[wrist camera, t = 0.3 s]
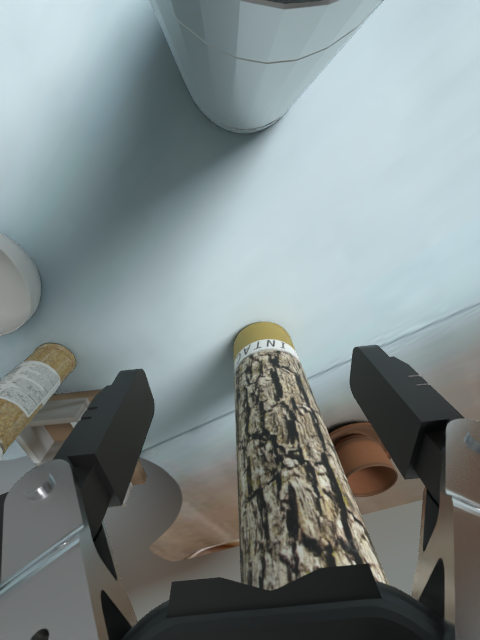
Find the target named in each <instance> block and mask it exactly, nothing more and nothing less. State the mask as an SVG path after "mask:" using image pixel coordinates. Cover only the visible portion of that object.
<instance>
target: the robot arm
mask: <svg viewBox="0 0 480 640" xmlns="http://www.w3.org/2000/svg"><path fill="white" fill-rule="evenodd" d="M149 1H150V3H151V6H152V8H153V10H154V13H155V15H156V17H157V19H158V22H159V24H160V26H161V29H162V31H163V33H164V36H165V38H166V40H167V42H168V45H169V47H170V49H171V52H172V54H173V56H174V58H175V61H176V63H177V66H178V68H179V70H180V73H181V75H182V77H183V79H184V82H185V84H186V86H187V88H188V90H189V92H190V94H191V96H192V98H193V100H194V102H195V103H196V105H197V106H198V108H199V109H200V110H201V112H202V113H203V114H204V115H205V116H206V117H207V118H208V119H209V120H211V121H212V122H213V123H214V124H216V125H218V126H219V127H221V128H223V129H225V130H228V131H231V132H235V133H253V132H257V131H261V130H263V129H265V128H267V127H269V126H271V125H273V124H274V123H275V122H276V121H277V120H279V119H280V118H281V117H282V116H283V115H284V114H285V113H286V112H287V111H288V109H289V108H290V107H291V106H292V105H293V104H294V103H295V102H296V100H297V99H298V98H299V97H300V96H301V95H302V94H303V92H304V91H305V90H306V89H307V88H308V87H309V86H310V84H311V83H312V82H313V81H314V80H315V79H316V78H317V76H318V75H319V74H320V73H321V72H322V71H323V69H324V68H325V67H326V66H327V65H328V64H329V63H330V61H331V60H332V59H333V58H334V57H335V56H336V54H337V53H338V52H339V51H340V50H341V49H342V48H343V46H344V45H345V44H346V43H347V42H348V41H349V39H350V38H351V37H352V36H353V35H354V34H355V33H356V31H357V30H358V29H359V28H360V27H361V26H362V25H363V23H364V22H365V21H366V20H367V19H368V18H369V16H370V15H371V14H372V13H373V12H374V11H375V10H376V8H377V7H378V6H379V5H380V4H381V3H382V1H383V0H149ZM350 388H351V391H352V394H353V396H354V398H355V399H356V401H357V403H358V404H359V406H360V407H361V409H362V411H363V412H364V414H365V416H366V417H367V419H368V420H369V422H370V424H371V425H372V427H373V429H374V430H375V432H376V434H377V435H378V437H379V438H380V440H381V442H382V443H383V445H384V447H385V448H386V450H387V451H388V453H389V455H390V456H391V458H392V460H393V461H394V463H395V464H396V466H397V468H398V469H399V471H400V473H401V474H402V476H403V477H404V479H415V478H420V479H421V480H422V482H423V483H424V485H425V489H424V492H423V504H422V517H421V530H420V543H419V555H418V563H417V568H416V572H415V577H414V582H413V589H412V596H410V595H408V594H406V593H404V592H403V591H401V590H399V589H397V588H395V587H392V586H390V585H387V584H385V583H382V582H379V581H375V579H374V576H373V573H372V571H371V568H370V565H369V563H366V564H356V565H345V566H335V567H324V568H319V569H317V570H315V571H313V572H311V573H309V574H306V575H304V576H302V577H300V578H298V579H296V580H294V581H292V582H290V583H288V584H286V585H284V586H282V587H280V588H278V589H275V590H265V589H262V588H258V587H254V586H250V585H247V584H243V583H239V582H235V581H232V580H228V579H224V578H220V577H219V578H209V579H198V580H187V581H177V582H172V586H171V592H170V599H169V600H168V601H166V602H164V603H162V604H161V605H159V606H158V607H156V608H154V609H153V610H151V611H150V612H149V613H148V614H146V615H145V616H144V617H143V618H142V619H140V620H139V621H137V618H136V615H135V612H134V610H133V607H132V605H131V602H130V600H129V598H128V596H127V594H126V592H125V589H124V586H123V583H122V580H121V576H120V573H119V569H118V566H117V563H116V560H115V556H114V552H113V549H112V546H111V542H110V539H109V535H108V532H107V529H106V526H105V523H104V521H103V518H104V516H105V513H106V510H107V508H108V507H116V506H122V505H123V502H124V500H125V497H126V494H127V491H128V488H129V485H130V482H131V479H132V476H133V473H134V471H135V468H136V465H137V462H138V459H139V456H140V453H141V450H142V447H143V444H144V442H145V439H146V436H147V433H148V430H149V427H150V424H151V421H152V418H153V415H154V399H153V396H152V393H151V390H150V387H149V384H148V381H147V378H146V374H145V372H144V370H143V369H134V370H125V371H120V372H119V374H118V375H117V377H116V378H115V380H114V382H113V383H112V385H110V386H106V387H105V388H104V389H103V390H102V391H100V392H99V393H98V394H97V395H96V396H95V397H94V398H93V400H92V401H91V403H90V404H89V406H88V407H87V410H85V412H84V413H83V415H82V416H81V420H79V421H78V422H77V424H76V425H75V427H74V428H73V430H72V431H71V433H70V434H69V436H68V437H67V439H66V440H65V442H64V443H63V445H62V446H61V448H60V449H59V451H58V452H57V454H56V455H55V457H54V458H53V460H50V461H47V462H44V463H42V464H40V465H38V466H36V467H34V468H33V469H31V470H30V471H29V472H27V473H26V474H25V475H24V476H22V477H21V478H20V479H19V480H18V481H17V482H16V483H15V485H14V486H13V487H12V488H11V490H10V491H9V492H7V493H5V494H2V495H0V640H480V421H476V420H472V419H465V418H464V417H463V416H462V415H461V414H460V413H459V412H458V411H457V410H456V409H455V408H454V407H453V406H451V405H450V404H449V403H448V402H447V401H446V400H445V399H444V398H443V397H442V396H441V395H440V394H439V393H438V392H437V391H436V390H435V389H434V388H433V387H431V386H430V385H428V383H427V382H426V381H425V380H424V379H423V378H422V377H419V374H418V373H417V372H416V371H415V370H414V369H413V368H412V367H410V366H409V365H408V364H407V363H405V362H403V361H401V360H399V359H397V358H395V357H389V356H388V355H387V354H386V353H385V352H384V351H383V350H382V349H381V348H380V347H379V346H378V345H369V346H360V347H355V348H354V349H353V354H352V363H351V372H350Z"/></svg>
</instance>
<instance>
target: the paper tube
mask: <svg viewBox="0 0 480 640" xmlns="http://www.w3.org/2000/svg"><path fill="white" fill-rule="evenodd" d="M233 351H234V388H235V418H236V448H237V479H238V509H239V539H240V569H241V583H243V584H247V585H250V586H254V587H258V588H262V589H265V590H275V589H278V588H280V587H282V586H284V585H286V584H288V583H290V582H292V581H294V580H296V579H298V578H300V577H302V576H304V575H306V574H309V573H311V572H313V571H315V570H317V569H319V568H324V567H335V566H345V565H356V564H366V563H369V565H370V568H371V571H372V573H373V576H374V579H375V581H379V582H382V583H385V584H387V585H389V584H388V581H387V579H386V576H385V574H384V571H383V568H382V566H381V563H380V561H379V559H378V556H377V553H376V551H375V548H374V546H373V543H372V541H371V538H370V536H369V533H368V531H367V528H366V526H365V523H364V521H363V518H362V516H361V513H360V511H359V508H358V506H357V503H356V501H355V498H354V496H353V493H352V491H351V488H350V486H349V483H348V481H347V478H346V476H345V473H344V471H343V468H342V466H341V463H340V461H339V458H338V456H337V453H336V451H335V448H334V446H333V443H332V441H331V438H330V436H329V433H328V430H327V428H326V425H325V423H324V420H323V418H322V415H321V413H320V410H319V408H318V405H317V403H316V400H315V398H314V395H313V393H312V390H311V388H310V385H309V383H308V380H307V378H306V375H305V373H304V370H303V368H302V365H301V363H300V360H299V358H298V355H297V353H296V351H295V348H294V346H293V343H292V341H291V338H290V336H289V334H288V333H287V332H286V330H285V329H284V328H282V327H281V326H279V325H277V324H275V323H271V322H258V323H254V324H251V325H249V326H247V327H246V328H244V329H243V330H242V331H241V332H240V333H239V334H238V335H237V337H236V339H235V342H234V347H233Z"/></svg>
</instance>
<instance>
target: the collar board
mask: <svg viewBox="0 0 480 640" xmlns="http://www.w3.org/2000/svg"><path fill="white" fill-rule="evenodd" d="M100 391H102V390H94V391H84V392H74V393H64V394H54V395H52V396H51V398H50V399H49V400H48V401H47V402H46V404H45V405H44V406H43V407H42V408H41V409H40V410H39V411H38V412H37V414H36V415H35V416H34V417H33V418H32V420H31V421H30V422H29V423H28V424H27V426H26V427H25V428H24V429H23V430H22V432H21V433H20V434H19V435H18V436H17V438H16V441H17V442H18V443H19V445H20V446H21V447H22V448H23V450H24V451H25V452H26V454H27V455H28V456H29V457H30V459H31V460H32V461H33V462H34V464H35V465H36V466H38V465H40V464H42V463H44V462H47V461H50V460H53V458H54V457H55V455H56V454H57V452H58V451H59V449H60V448H61V446H62V445H63V443H64V442H65V440H66V439H67V437H68V436H69V434H70V433H71V431H72V430H73V428H74V427H75V425H76V424H77V422H78V421H79V420H81V416H82V415H83V413H84V412H85V410H87V407H88V406H89V404H90V403H91V401H92V400H93V398H94V397H95V396H96V395H97V394H98V393H99V392H100ZM146 477H147V476H146V474H145V471H144V469H143V467H142V465H141V463H140V461H139V459H138V462H137V465H136V468H135V471H134V473H133V476H132V479H131V482H130V485H129V488H128V491H127V494H126V497H125V500H124V502H123V505H122V506H116V507H123V506H126V504H127V501H128V498H129V495H130V492H131V488H132V485H137V484H145V481H146ZM108 508H112V507H108Z"/></svg>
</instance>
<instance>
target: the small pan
mask: <svg viewBox="0 0 480 640" xmlns="http://www.w3.org/2000/svg"><path fill="white" fill-rule="evenodd" d="M40 297H41V280H40V275H39V272H38V270H37V267H36V265H35V264H34V262H33V260H32V259H31V257H30V256H29V255H28V254H27V252H26V251H25V250H24V249H23V248H22V247H21V246H20V245H19V244H17V243H16V242H15V241H13V240H12V239H11V238H9V237H7V236H6V235H4V234H2V233H0V336H1V335H6V334H8V333H11V332H13V331H15V330H16V329H18V328H19V327H21V326H22V325H23V324H24V323H25V322H27V321H28V320H29V318H30V317H31V316H32V315H33V314H34V313H35V311H36V309H37V307H38V305H39V301H40Z"/></svg>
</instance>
